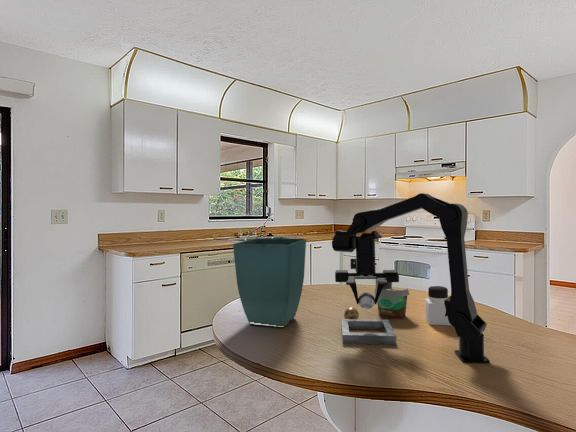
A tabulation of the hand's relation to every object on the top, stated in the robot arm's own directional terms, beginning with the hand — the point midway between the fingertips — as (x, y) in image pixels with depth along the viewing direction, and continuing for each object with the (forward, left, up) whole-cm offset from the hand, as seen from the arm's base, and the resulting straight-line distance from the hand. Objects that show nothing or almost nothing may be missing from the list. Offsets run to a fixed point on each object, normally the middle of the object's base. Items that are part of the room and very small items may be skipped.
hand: (366, 304), depth 110 cm
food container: (+19, -10, -10) cm, 24 cm away
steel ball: (0, 0, +1) cm, 1 cm away
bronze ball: (+12, +4, -7) cm, 14 cm away
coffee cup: (+48, -12, -10) cm, 50 cm away
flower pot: (+11, +31, -10) cm, 34 cm away
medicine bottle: (+14, -25, -10) cm, 30 cm away
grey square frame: (0, 0, -10) cm, 10 cm away
